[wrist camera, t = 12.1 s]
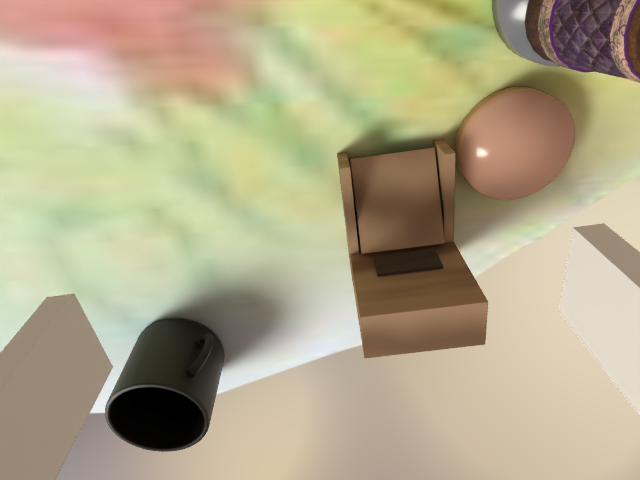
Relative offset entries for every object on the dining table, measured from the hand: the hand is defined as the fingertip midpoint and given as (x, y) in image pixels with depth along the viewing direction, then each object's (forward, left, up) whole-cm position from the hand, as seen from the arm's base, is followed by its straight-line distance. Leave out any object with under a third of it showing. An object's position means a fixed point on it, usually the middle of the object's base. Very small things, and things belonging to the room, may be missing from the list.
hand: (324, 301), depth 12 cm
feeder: (+11, +6, -27) cm, 29 cm away
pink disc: (+6, +16, -27) cm, 32 cm away
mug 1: (+24, -17, -27) cm, 40 cm away
